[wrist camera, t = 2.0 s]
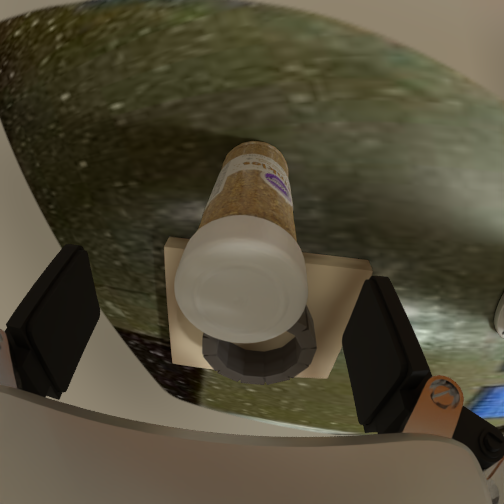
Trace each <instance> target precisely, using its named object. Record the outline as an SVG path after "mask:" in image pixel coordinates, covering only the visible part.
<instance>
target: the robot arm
mask: <svg viewBox="0 0 504 504" xmlns="http://www.w3.org/2000/svg"><path fill="white" fill-rule="evenodd" d="M99 317H100V307H99V303H98V299H97V295H96V291H95V286H94V282H93V277H92V273H91V268H90V263H89V258H88V253H87V251H85V250H84V249H83V247H82V246H80V245H71V244H66V245H65V246H64V247H63V248H62V249H61V251H60V252H59V253H58V254H57V255H56V257H55V258H54V259H53V260H52V262H51V263H50V264H49V265H48V267H47V268H46V270H45V271H44V272H43V273H42V274H41V276H40V277H39V278H38V280H37V281H36V282H35V284H34V285H33V286H32V288H31V289H30V291H29V292H28V293H27V295H26V296H25V298H24V299H23V300H22V302H21V303H20V304H19V306H18V307H17V309H16V310H15V312H14V313H13V315H12V316H11V318H10V319H9V321H8V322H7V324H6V326H7V329H6V330H5V332H4V331H3V330H1V329H0V504H504V436H503V434H502V433H501V431H500V430H498V429H497V428H496V427H495V426H493V425H492V424H490V423H489V422H487V421H485V420H484V419H482V418H481V417H479V416H478V415H476V414H475V413H473V412H472V411H470V410H469V409H467V408H466V407H464V406H463V402H464V397H463V392H462V390H461V388H460V387H459V385H458V384H457V383H456V382H455V381H453V380H452V379H451V378H449V377H446V376H441V375H437V376H433V377H432V375H431V372H430V369H429V366H428V364H427V361H426V359H425V356H424V354H423V352H422V349H421V347H420V344H419V342H418V340H417V337H416V335H415V333H414V331H413V328H412V326H411V324H410V322H409V319H408V317H407V315H406V313H405V311H404V308H403V306H402V304H401V302H400V300H399V298H398V296H397V294H396V292H395V289H394V287H393V285H392V283H391V281H390V279H389V278H388V277H383V276H371V277H370V278H369V280H368V279H367V280H365V281H364V283H363V286H362V289H361V291H360V294H359V296H358V299H357V301H356V304H355V306H354V309H353V311H352V314H351V316H350V319H349V321H348V324H347V326H346V328H345V331H344V333H343V336H342V346H343V350H344V355H345V359H346V364H347V368H348V373H349V377H350V382H351V387H352V391H353V396H354V401H355V406H356V411H357V416H358V421H359V423H360V424H361V425H363V426H364V431H365V433H369V432H378V434H374V435H359V436H334V437H269V436H250V435H234V434H222V433H213V432H204V431H195V430H188V429H180V428H174V427H168V426H161V425H156V424H150V423H145V422H139V421H134V420H129V419H125V418H120V417H116V416H111V415H107V414H102V413H99V412H95V411H91V410H87V409H83V408H80V407H76V406H73V405H69V404H65V403H62V402H58V401H55V400H52V399H48V398H45V397H46V396H49V397H52V398H55V399H58V400H59V399H60V397H61V394H62V392H66V391H67V389H68V386H69V384H70V382H71V379H72V377H73V374H74V372H75V370H76V367H77V365H78V363H79V361H80V358H81V356H82V354H83V352H84V349H85V347H86V345H87V343H88V341H89V339H90V336H91V334H92V332H93V330H94V328H95V326H96V324H97V322H98V320H99ZM494 326H495V328H496V331H497V332H498V334H499V336H500V337H502V338H503V339H504V293H503V295H502V297H501V299H500V301H499V303H498V306H497V309H496V312H495V317H494Z"/></svg>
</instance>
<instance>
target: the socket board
mask: <svg viewBox="0 0 504 504" xmlns="http://www.w3.org/2000/svg"><path fill="white" fill-rule="evenodd" d="M189 240H190V239H185V238H176V237H169V238H168V240H167V242H166V244H165V246H164V257H165V277H166V293H167V307H168V320H169V331H170V342H171V352H172V362H173V363H174V364H180V365H186V366H193V367H200V368H207V369H214V370H215V371H218V373H219V374H221V375H223V376H226V377H228V378H230V379H232V380H235V381H237V382H238V381H239V380H241V383H250V384H261V385H264V383H265V382H266V383H267V385H268V384H272V383H277V382H281V381H286V380H290V379H289V377H290V378H294V377H304V378H328V376H329V373H330V371H331V369H332V367H333V365H334V363H335V361H336V359H337V356H338V354H339V352H340V350H341V348H342V336H343V333H344V331H345V328H346V326H347V324H348V321H349V319H350V316H351V314H352V311H353V309H354V306H355V304H356V301H357V299H358V296H359V294H360V291H361V289H362V286H363V283H364V281H365V280H367V279H368V280H369V278H370V277H371V275H372V272H373V270H372V267H371V265H370V263H369V260H363V259H355V258H347V257H339V256H330V255H322V254H314V253H305V252H302V254H303V256H304V260H305V266H306V273H307V283H308V298H307V303H306V306H305V309H304V311H303V313H302V315H301V317H300V318H299V319H298V321H297V322H296V323H295V324H294V325H293V326H292V327H291V328H290V329H288V330H287V331H286V332H284V333H282V334H281V335H279V336H277V337H274V338H272V339H269V340H266V341H261V342H256V343H234V342H228V341H223V340H220V339H217V338H214V337H212V336H210V335H207V334H206V333H204V332H202V331H201V330H199V329H198V328H196V327H195V326H194V325H193V324H192V323H191V322H190V321H189V320H188V319H187V318H186V317H185V316H184V314H183V313H182V311H181V309H180V307H179V305H178V303H177V300H176V297H175V290H174V282H175V276H176V272H177V269H178V266H179V263H180V260H181V258H182V255H183V252H184V250H185V248H186V245H187V243H188V242H189Z"/></svg>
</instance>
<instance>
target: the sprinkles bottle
mask: <svg viewBox="0 0 504 504" xmlns="http://www.w3.org/2000/svg"><path fill="white" fill-rule="evenodd" d="M288 173H289V171H288V166H287V162H286V160H285V159H284V157H283V155H282V154H281V152H280V151H279V150H277V149H276V147H274V146H272V145H270V144H268V143H265V142H259V141H249V142H245V143H242V144H240V145H238V146H236V147H235V148H233V149H232V150H231V151H230V152H229V153H228V154H227V156H226V158H225V160H224V162H223V165H222V170H221V172H220V173H219V176H218V178H217V181H216V183H215V185H214V188H213V190H212V193H211V195H210V198H209V200H208V202H207V205H206V207H205V210H204V212H203V215H202V220H201V223H200V225H199V228H198V230H197V232H196V233H195V234H194V235H193V236H192V237H191V238H190V240H189V242H188V243H187V245H186V248H185V250H184V252H183V255H182V258H181V260H180V263H179V266H178V269H177V272H176V276H175V282H174V290H175V297H176V300H177V303H178V305H179V307H180V309H181V311H182V313H183V314H184V316H185V317H186V318H187V319H188V320H189V321H190V322H191V323H192V324H193V325H194V326H195V327H196V328H198V329H199V330H201V331H202V332H204V333H206V334H207V335H210V336H212V337H214V338H217V339H220V340H223V341H228V342H234V343H256V342H261V341H266V340H269V339H272V338H274V337H277V336H279V335H281V334H282V333H284V332H286V331H287V330H288V329H290V328H291V327H292V326H293V325H294V324H295V323H296V322H297V321H298V319H299V318H300V317H301V315H302V313H303V311H304V309H305V306H306V303H307V298H308V283H307V273H306V266H305V260H304V256H303V254H302V251H301V249H300V247H299V245H298V244H297V240H296V232H295V225H294V217H293V202H292V195H291V189H290V183H289V180H288Z"/></svg>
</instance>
